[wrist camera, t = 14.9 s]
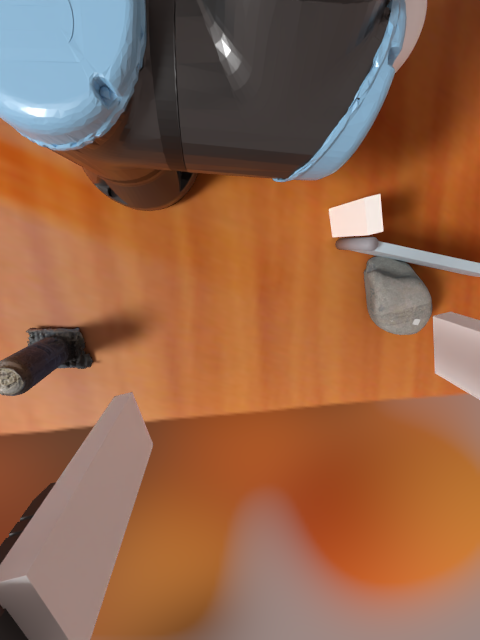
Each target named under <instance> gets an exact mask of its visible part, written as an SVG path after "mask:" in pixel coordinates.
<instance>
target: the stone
mask: <svg viewBox="0 0 480 640" xmlns="http://www.w3.org/2000/svg"><path fill="white" fill-rule="evenodd" d="M364 281H365V290H366V300H367V308H368V312H369V315H370V317H371V319H372V320H373V322H374V323H375V324H376V325H377V326H378V327H380V328H381V329H383V330H385V331H387V332H390V333H393V334H399V335H410V334H415V333H417V332H418V331H420V330H421V329H422V328H423V327H424V326H425V325H426V323H427V322H428V320H429V318H430V316H431V313H432V299H431V296H430V293H429V291H428V289H427V287H426V286H425V284H424V283H423V281H422V280H421V279H420V278H419V277H418V275H417V274H416V273H415V272H414V270H413V269H412V268H411V266H410V265H409V264H407V263H406V262H404V261H400V260H395V259H391V258H385V257H380V256H376V257H373V258H370V259H369V260H368V262H367V267H366V269H365V271H364Z"/></svg>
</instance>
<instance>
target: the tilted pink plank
mask: <svg viewBox="0 0 480 640" xmlns="http://www.w3.org/2000/svg"><path fill="white" fill-rule="evenodd" d="M329 215H330V222H331V230H332V237H346V236H364V235H371V234H375V233H379V232H383V220H382V208H381V196H380V194H378V195H374V196H370V197H365V198H362V199H359V200H356V201H353V202H349V203H346V204H343V205H340V206H337V207H333V208H330V209H329Z"/></svg>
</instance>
